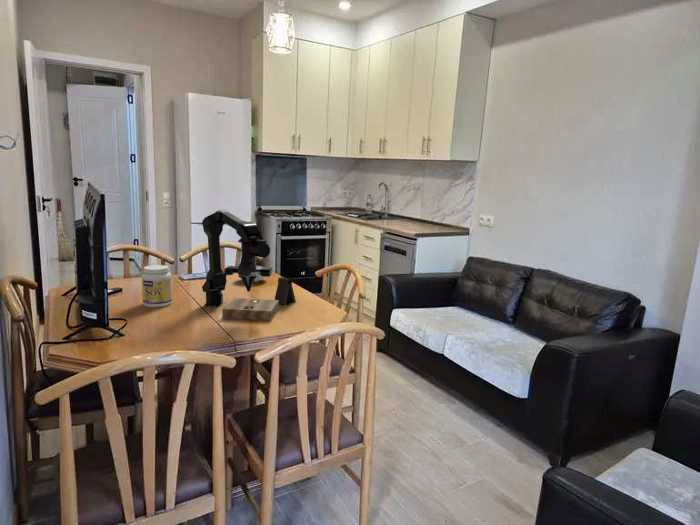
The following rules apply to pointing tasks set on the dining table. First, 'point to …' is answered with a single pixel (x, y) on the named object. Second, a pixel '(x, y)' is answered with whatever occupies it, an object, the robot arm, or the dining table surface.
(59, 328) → the dining table surface
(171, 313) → the dining table surface
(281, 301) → the phone stand
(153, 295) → the supplement tub
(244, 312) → the walnut block
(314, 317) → the dining table surface
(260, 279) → the cereal bowl
